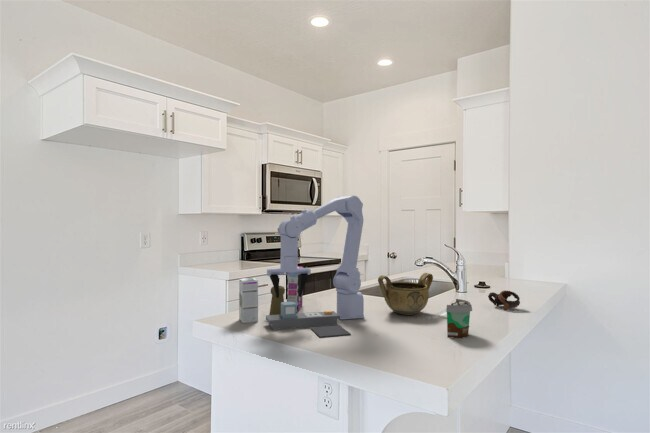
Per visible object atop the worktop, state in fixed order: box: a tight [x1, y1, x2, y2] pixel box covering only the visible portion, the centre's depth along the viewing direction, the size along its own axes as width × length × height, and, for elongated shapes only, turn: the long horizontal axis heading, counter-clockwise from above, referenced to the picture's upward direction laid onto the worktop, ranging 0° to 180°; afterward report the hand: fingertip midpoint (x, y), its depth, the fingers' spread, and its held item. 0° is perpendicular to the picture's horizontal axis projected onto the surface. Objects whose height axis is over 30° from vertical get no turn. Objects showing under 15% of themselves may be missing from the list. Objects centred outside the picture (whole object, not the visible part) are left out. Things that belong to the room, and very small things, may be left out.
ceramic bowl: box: [377, 272, 434, 316], centre depth 149 cm, size 22×17×15 cm
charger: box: [281, 301, 298, 319], centre depth 130 cm, size 4×5×6 cm
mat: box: [310, 325, 352, 339], centre depth 123 cm, size 10×10×1 cm
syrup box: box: [238, 277, 259, 324], centre depth 136 cm, size 6×6×14 cm
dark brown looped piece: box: [487, 290, 521, 311], centre depth 160 cm, size 12×10×8 cm
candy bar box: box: [286, 265, 304, 313], centre depth 155 cm, size 11×5×16 cm, turn 175°
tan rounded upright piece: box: [268, 285, 286, 315], centre depth 143 cm, size 6×6×11 cm
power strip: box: [265, 310, 341, 330], centre depth 132 cm, size 24×7×4 cm, turn 108°
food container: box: [445, 298, 473, 339], centre depth 121 cm, size 12×6×10 cm, turn 148°
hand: (288, 296), depth 130 cm, fingers open, 7 cm apart
